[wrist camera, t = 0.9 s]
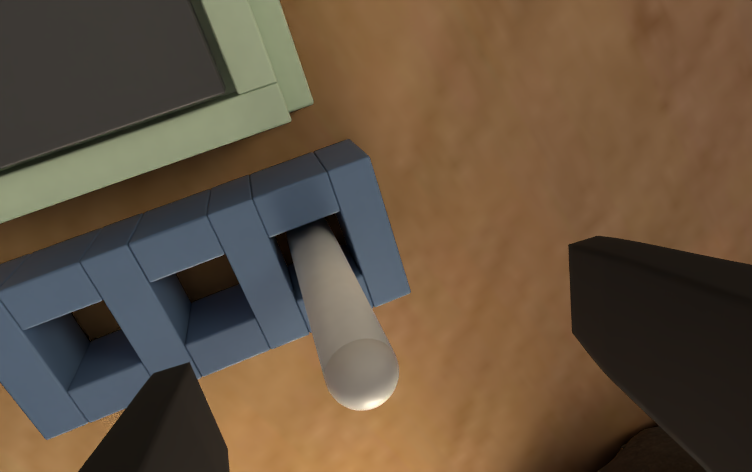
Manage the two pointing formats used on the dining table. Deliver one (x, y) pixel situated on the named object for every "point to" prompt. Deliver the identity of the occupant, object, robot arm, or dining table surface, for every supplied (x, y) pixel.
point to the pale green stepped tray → (179, 113)
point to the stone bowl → (652, 455)
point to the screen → (95, 69)
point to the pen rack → (166, 295)
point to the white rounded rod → (342, 321)
